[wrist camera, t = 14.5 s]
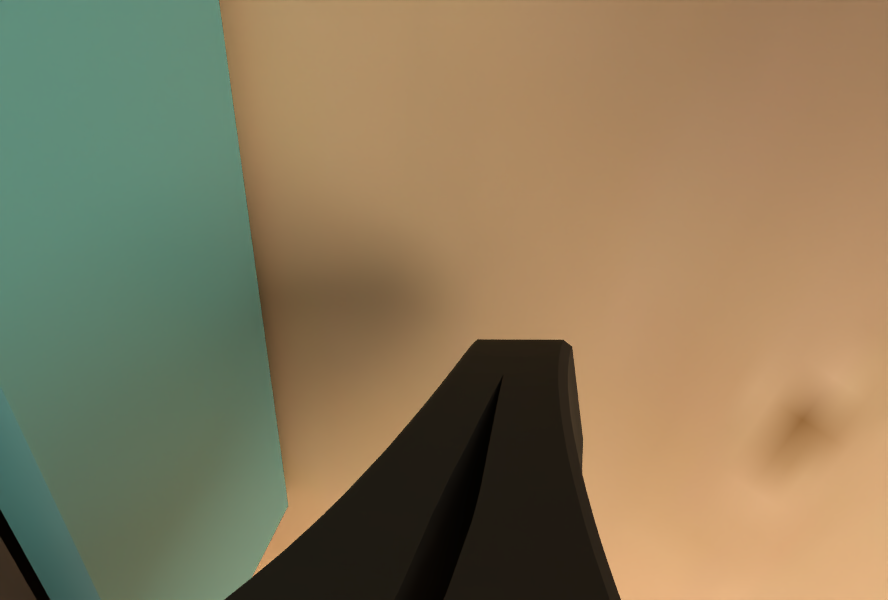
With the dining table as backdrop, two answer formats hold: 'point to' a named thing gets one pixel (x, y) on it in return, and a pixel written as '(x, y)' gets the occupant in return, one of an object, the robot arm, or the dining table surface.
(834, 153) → the dining table surface
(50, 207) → the drawer
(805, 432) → the dining table surface
